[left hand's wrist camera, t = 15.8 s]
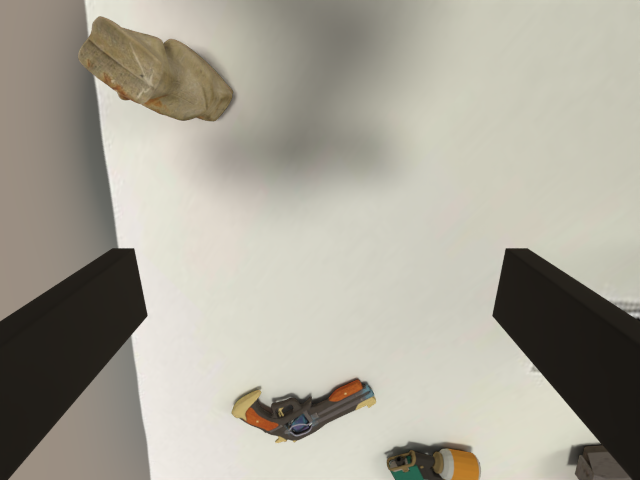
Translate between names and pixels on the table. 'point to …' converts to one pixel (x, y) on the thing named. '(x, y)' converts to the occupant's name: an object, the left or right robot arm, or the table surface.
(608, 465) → the toy
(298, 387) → the table surface
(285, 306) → the table surface
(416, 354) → the table surface
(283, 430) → the toy gun
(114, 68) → the sculpture
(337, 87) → the table surface
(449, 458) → the spray gun
